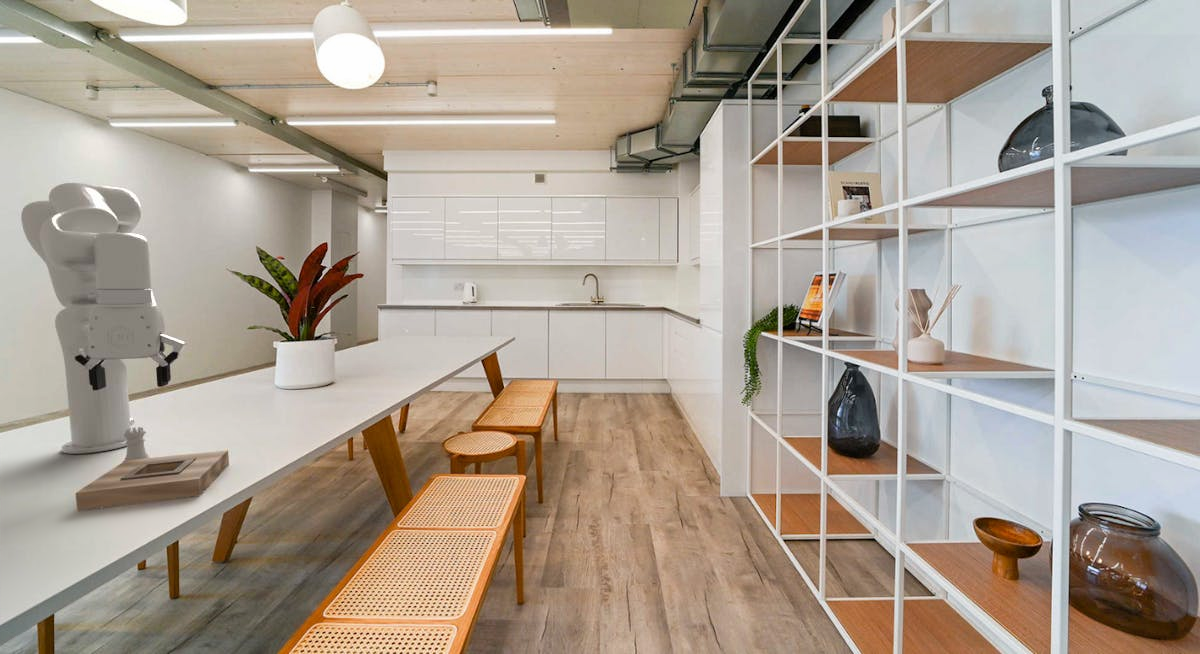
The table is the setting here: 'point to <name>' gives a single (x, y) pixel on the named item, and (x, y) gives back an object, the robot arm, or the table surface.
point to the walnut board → (153, 480)
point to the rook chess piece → (135, 444)
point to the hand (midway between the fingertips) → (131, 387)
